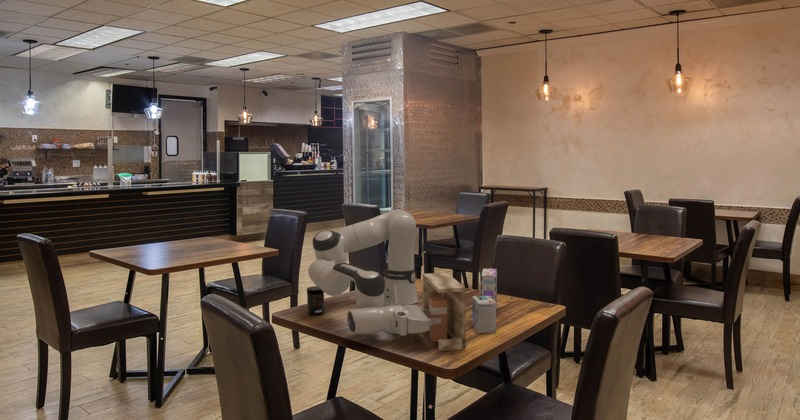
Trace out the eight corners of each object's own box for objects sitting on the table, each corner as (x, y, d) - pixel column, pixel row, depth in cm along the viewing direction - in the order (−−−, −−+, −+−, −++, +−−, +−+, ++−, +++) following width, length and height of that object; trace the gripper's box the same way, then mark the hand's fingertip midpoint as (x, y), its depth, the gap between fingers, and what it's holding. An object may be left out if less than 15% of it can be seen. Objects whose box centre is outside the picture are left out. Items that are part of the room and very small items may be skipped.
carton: (432, 341, 190) (432, 301, 189) (429, 337, 195) (428, 297, 194) (447, 340, 191) (446, 300, 190) (443, 336, 196) (443, 296, 195)
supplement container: (319, 310, 230) (319, 285, 229) (327, 314, 225) (326, 288, 224) (304, 313, 226) (303, 287, 225) (312, 317, 221) (311, 291, 220)
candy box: (495, 318, 217) (496, 275, 215) (480, 317, 218) (480, 275, 217) (497, 308, 231) (497, 268, 229) (482, 307, 232) (482, 267, 230)
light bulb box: (471, 324, 210) (471, 295, 208) (489, 323, 210) (489, 295, 209) (477, 333, 199) (478, 303, 198) (496, 332, 199) (497, 302, 198)
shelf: (439, 351, 181) (438, 289, 179) (423, 329, 204) (422, 273, 202) (465, 349, 183) (465, 287, 181) (446, 327, 206) (446, 272, 204)
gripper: (392, 319, 200) (430, 316, 203) (402, 337, 180) (444, 334, 183) (391, 301, 200) (430, 299, 202) (402, 318, 180) (444, 315, 182)
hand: (437, 316), depth 192 cm, fingers open, 8 cm apart
